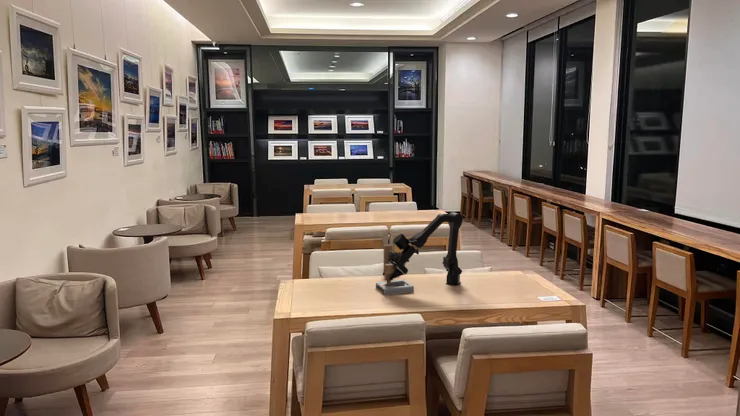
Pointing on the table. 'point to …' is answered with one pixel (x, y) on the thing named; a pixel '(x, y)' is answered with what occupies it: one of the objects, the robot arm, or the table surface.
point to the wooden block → (386, 248)
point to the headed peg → (388, 273)
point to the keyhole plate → (393, 288)
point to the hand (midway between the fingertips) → (386, 277)
